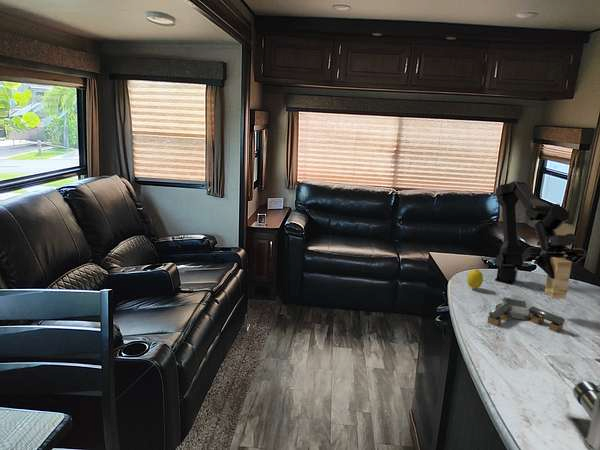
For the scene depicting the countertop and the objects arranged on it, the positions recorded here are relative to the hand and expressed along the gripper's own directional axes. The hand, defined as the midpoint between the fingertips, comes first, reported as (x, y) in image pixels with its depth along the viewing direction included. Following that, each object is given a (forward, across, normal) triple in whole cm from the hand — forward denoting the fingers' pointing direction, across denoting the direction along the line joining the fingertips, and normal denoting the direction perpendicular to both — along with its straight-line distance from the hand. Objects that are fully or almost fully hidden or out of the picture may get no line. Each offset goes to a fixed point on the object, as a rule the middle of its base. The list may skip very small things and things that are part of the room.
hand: (560, 278), depth 144 cm
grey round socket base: (+7, -12, +12) cm, 18 cm away
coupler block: (+4, 0, +6) cm, 7 cm away
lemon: (-7, -17, +27) cm, 32 cm away
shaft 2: (+14, -6, +5) cm, 16 cm away
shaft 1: (+12, -20, +7) cm, 24 cm away
